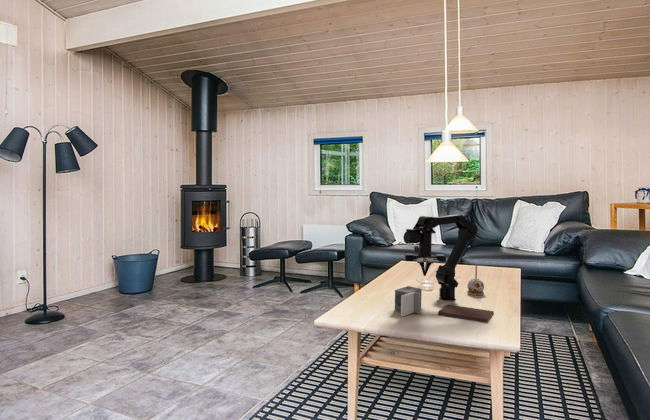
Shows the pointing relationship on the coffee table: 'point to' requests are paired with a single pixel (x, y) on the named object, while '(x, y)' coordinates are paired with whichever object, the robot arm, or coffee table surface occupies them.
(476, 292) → the decorative ornament
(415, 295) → the door
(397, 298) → the block
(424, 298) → the coffee table surface
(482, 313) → the notebook
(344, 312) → the coffee table surface
